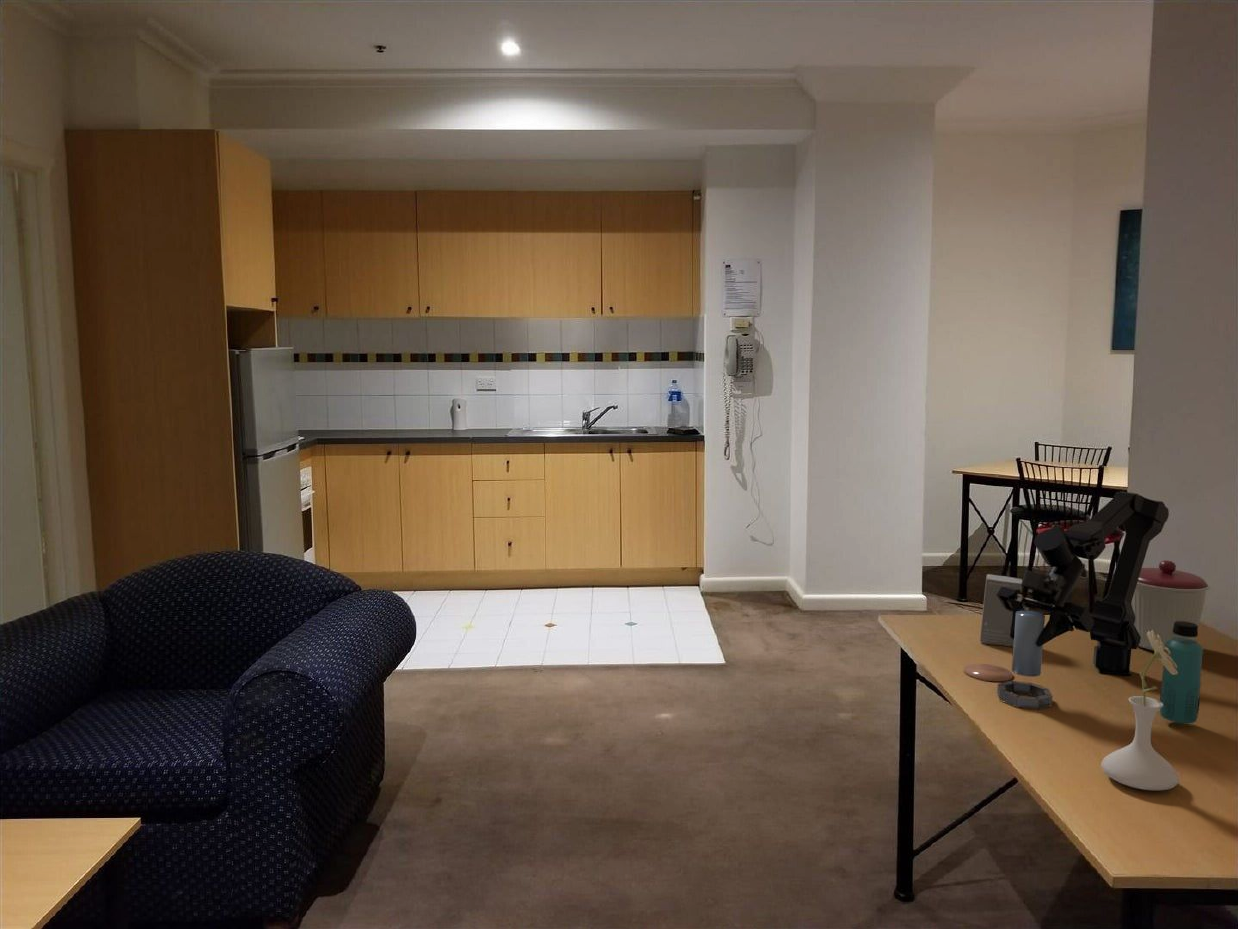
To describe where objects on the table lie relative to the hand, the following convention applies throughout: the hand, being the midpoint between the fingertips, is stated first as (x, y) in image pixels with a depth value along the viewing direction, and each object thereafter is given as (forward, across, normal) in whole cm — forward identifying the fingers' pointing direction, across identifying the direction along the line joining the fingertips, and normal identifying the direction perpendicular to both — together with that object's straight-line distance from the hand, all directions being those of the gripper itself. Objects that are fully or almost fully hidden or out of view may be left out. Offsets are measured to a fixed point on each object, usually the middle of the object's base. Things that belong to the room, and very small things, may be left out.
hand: (1024, 641), depth 193 cm
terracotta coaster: (+3, -13, +15) cm, 20 cm away
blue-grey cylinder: (+4, 0, +6) cm, 7 cm away
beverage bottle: (-2, +23, +19) cm, 30 cm away
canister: (-34, -3, +52) cm, 62 cm away
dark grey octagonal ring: (+8, 0, +10) cm, 12 cm away
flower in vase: (+19, +32, -2) cm, 37 cm away
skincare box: (-13, -26, +31) cm, 42 cm away
